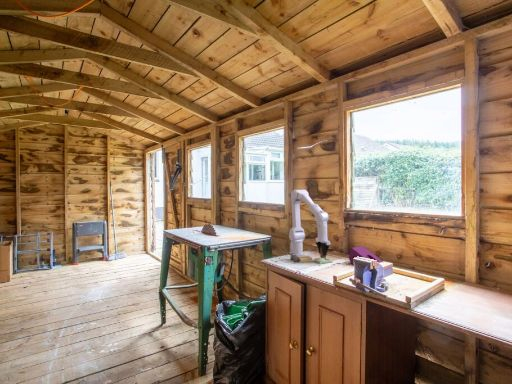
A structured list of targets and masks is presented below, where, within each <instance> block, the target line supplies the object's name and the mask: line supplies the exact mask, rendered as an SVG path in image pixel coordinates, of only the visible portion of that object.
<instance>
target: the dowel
mask: <svg viewBox="0 0 512 384" xmlns="http://www.w3.org/2000/svg"><path fill="white" fill-rule="evenodd" d="M319 255H320V256H319V258H327V255H326V256H323V255H322V248H321V247H320V254H319Z"/></svg>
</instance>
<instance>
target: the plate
mask: <svg viewBox="0 0 512 384" xmlns="http://www.w3.org/2000/svg"><path fill="white" fill-rule="evenodd" d="M299 262H300V263H305V262H306V263H308V262H313V257H312V256H309V255H307V254H305V255H299ZM299 262H298V263H299Z"/></svg>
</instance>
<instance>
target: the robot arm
mask: <svg viewBox="0 0 512 384" xmlns="http://www.w3.org/2000/svg"><path fill="white" fill-rule="evenodd" d="M303 201H304V202H305V203H306V205H307V206H308V207H309V210H310V212H311V213H312V215H314V220H315V222H316V226H317V237H315V245H316V247H317V249H318V253H319V255H320V247H321V248H322V255H323V256H326V257H327V255H328V250H329V248H330V246H331V241H330V240H329V239H328V222H329V221H330V215H329V214H328V212H326V211H324V210H323V209H322V208H321V207H320V205H319V204H317V203H314V201H313V199H312V198H311V197H310V195H309V191H308V190H307V189H292V191H291V192H290V202H291V217H292V219H291V220H292V227H291V228H290V229H289V235H288V237H289V240H290V243H289V249H290V250H289V252H288V254H290V253H295V255H299V256H302V255H306V254H305V253H303V252H304V251H303V250H304V249H303V246H304V245H303V242H304V240H305V239H306V233H305V230H304V228H303V227H302V224H301V223H302V221H301V210H300V209H301V208H300V204H301V202H303Z"/></svg>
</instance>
